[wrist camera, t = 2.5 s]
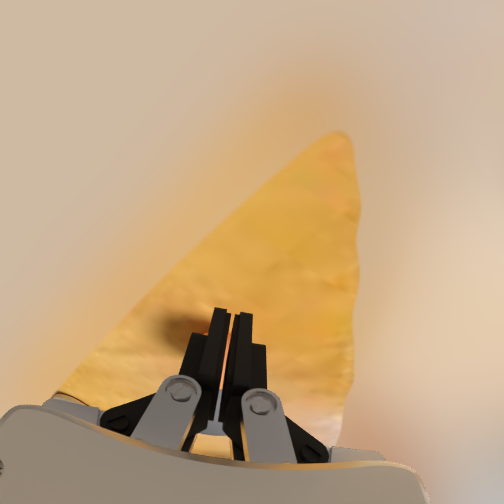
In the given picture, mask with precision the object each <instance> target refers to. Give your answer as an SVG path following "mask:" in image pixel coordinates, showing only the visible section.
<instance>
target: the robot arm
mask: <svg viewBox="0 0 504 504" xmlns="http://www.w3.org/2000/svg"><path fill="white" fill-rule="evenodd" d="M230 318H231V313H227V309H222V308H216V307H215V309H214V313H213V316H212V320H211V324H210V328H209V332H208V335H203V334H198V333H192V335H191V337H190V341H189V344H188V347H187V350H186V353H185V356H184V359H183V362H182V365H181V368H180V372H179V375H174V376H170V377H168V378H166V379H165V380H164V381H163V382H162V384H161V386H160V387H159V389H158V391H157V392H156V393H154V394H151V395H149V396H146V397H143V398H140V399H138V400H135V401H132V402H129V403H126V404H123V405H120V406H117V407H114V408H111V409H109V410H107V411H101V410H100V409H99V408H97V407H91V406H87V405H85V404H84V403H82V402H80V401H79V400H77V399H75V398H73V397H70V396H67V395H64V394H55V395H54V396H53V397H52V399H50V400H47V401H46V402H44V403H43V405H42V406H37V405H19V406H15V407H13V408H11V409H10V410H9V411H8V412H7V413H6V414H5V415H4V416H3V417H2V418H1V419H0V504H431V502H430V499H429V496H428V493H427V491H426V488H425V486H424V484H423V482H422V480H421V478H420V476H419V475H418V474H417V472H415V470H413V469H412V468H410V467H408V466H405V465H403V464H399V463H394V462H387V461H386V460H385V458H384V457H383V455H382V454H380V453H379V452H376V451H367V450H358V449H350V448H342V447H335V446H332V447H331V448H327V447H325V446H324V445H323V444H322V443H321V442H319V441H318V440H317V439H315V438H314V437H313V436H311V435H310V434H309V433H307V432H306V431H305V430H303V429H302V428H301V427H299V426H298V425H297V424H295V423H294V422H293V421H292V420H290V419H289V418H288V417H287V416H285V415H284V411H283V407H282V403H281V401H280V399H279V397H278V396H277V395H276V394H275V393H273V392H271V391H269V390H267V368H266V346H265V345H261V344H254V343H252V322H253V314H250V313H244V312H240V315H237V314H235V317H234V323H233V328H232V333H231V338H230V343H229V349H228V354H227V359H226V366H225V373H224V380H223V387H222V394H221V402H220V409H219V416H218V422H221V423H223V425H222V430H223V432H224V433H225V434H226V435H227V436H228V437H229V438H230V452H231V460H230V459H222V458H215V457H209V456H203V455H198V454H192V453H191V450H192V448H193V445H194V443H195V440H196V438H197V434H198V433H200V432H201V431H203V430H205V429H207V425H208V420H209V421H214V416H215V410H216V405H217V399H218V394H219V388H220V383H221V377H222V371H223V364H224V357H225V351H226V344H227V338H228V331H229V325H230Z"/></svg>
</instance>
